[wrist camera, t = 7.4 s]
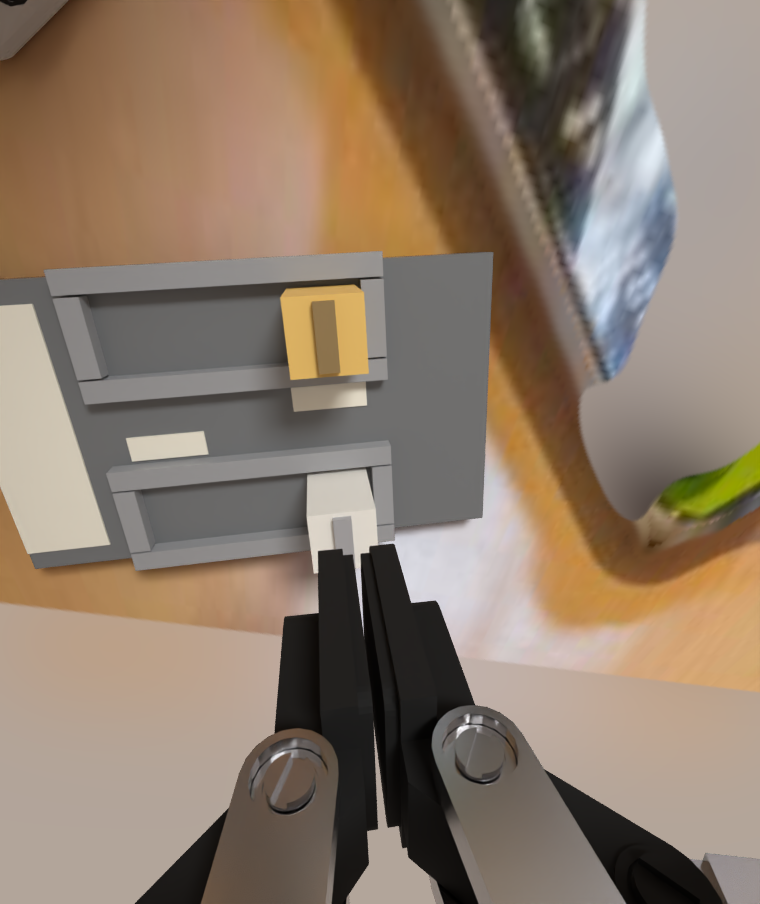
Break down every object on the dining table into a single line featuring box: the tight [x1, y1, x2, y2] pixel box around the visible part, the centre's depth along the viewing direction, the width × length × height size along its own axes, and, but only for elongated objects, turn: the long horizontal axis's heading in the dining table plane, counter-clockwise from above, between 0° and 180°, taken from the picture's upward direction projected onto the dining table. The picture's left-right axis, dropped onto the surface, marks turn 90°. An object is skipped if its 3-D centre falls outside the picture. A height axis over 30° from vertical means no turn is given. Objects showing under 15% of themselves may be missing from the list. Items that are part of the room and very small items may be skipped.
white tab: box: [307, 467, 378, 574], centre depth 23 cm, size 3×3×5 cm
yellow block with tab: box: [280, 284, 369, 380], centre depth 20 cm, size 3×3×5 cm
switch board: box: [0, 251, 493, 571], centre depth 24 cm, size 15×24×2 cm, turn 92°
